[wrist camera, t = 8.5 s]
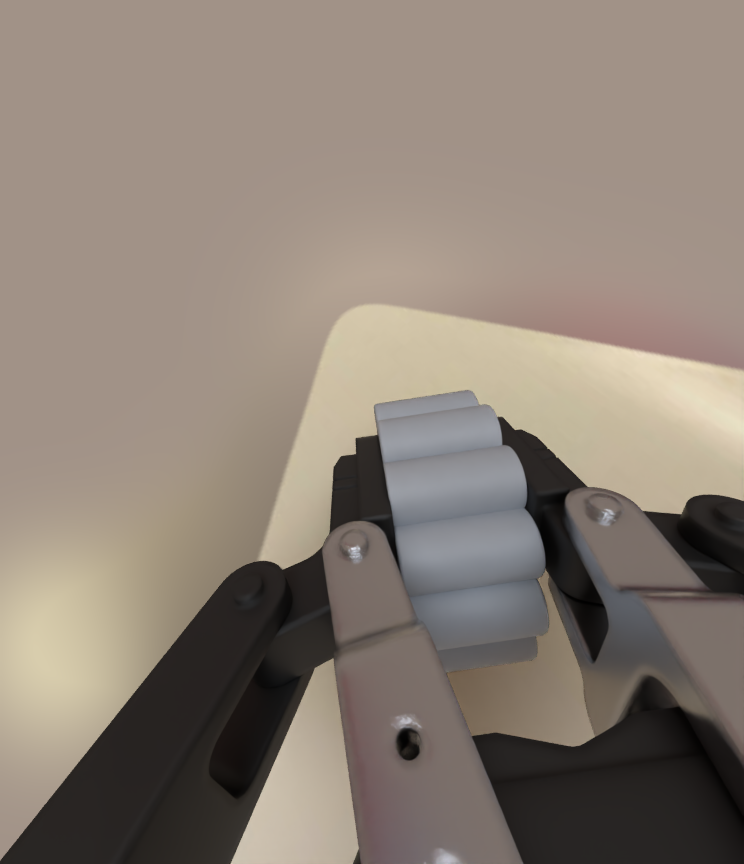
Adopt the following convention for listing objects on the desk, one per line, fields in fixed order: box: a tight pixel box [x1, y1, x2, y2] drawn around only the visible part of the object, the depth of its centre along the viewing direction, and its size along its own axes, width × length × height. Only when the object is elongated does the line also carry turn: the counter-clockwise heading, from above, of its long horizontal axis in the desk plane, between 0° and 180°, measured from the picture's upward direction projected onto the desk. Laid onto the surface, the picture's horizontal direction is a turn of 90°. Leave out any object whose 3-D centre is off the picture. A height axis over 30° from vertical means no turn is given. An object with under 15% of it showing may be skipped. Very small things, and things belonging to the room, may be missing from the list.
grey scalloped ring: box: [374, 390, 549, 673], centre depth 11 cm, size 3×8×8 cm, turn 8°
